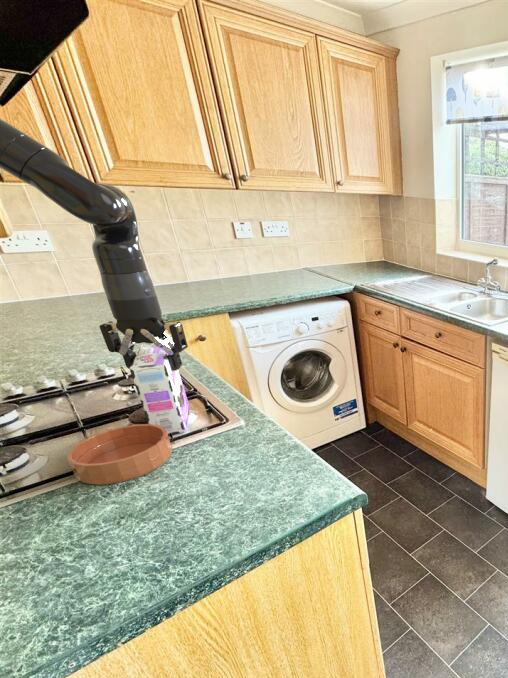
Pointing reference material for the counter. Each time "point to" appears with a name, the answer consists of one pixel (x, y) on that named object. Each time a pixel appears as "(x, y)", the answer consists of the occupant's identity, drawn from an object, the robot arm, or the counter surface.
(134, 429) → the pan
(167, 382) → the candy box
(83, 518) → the counter surface
